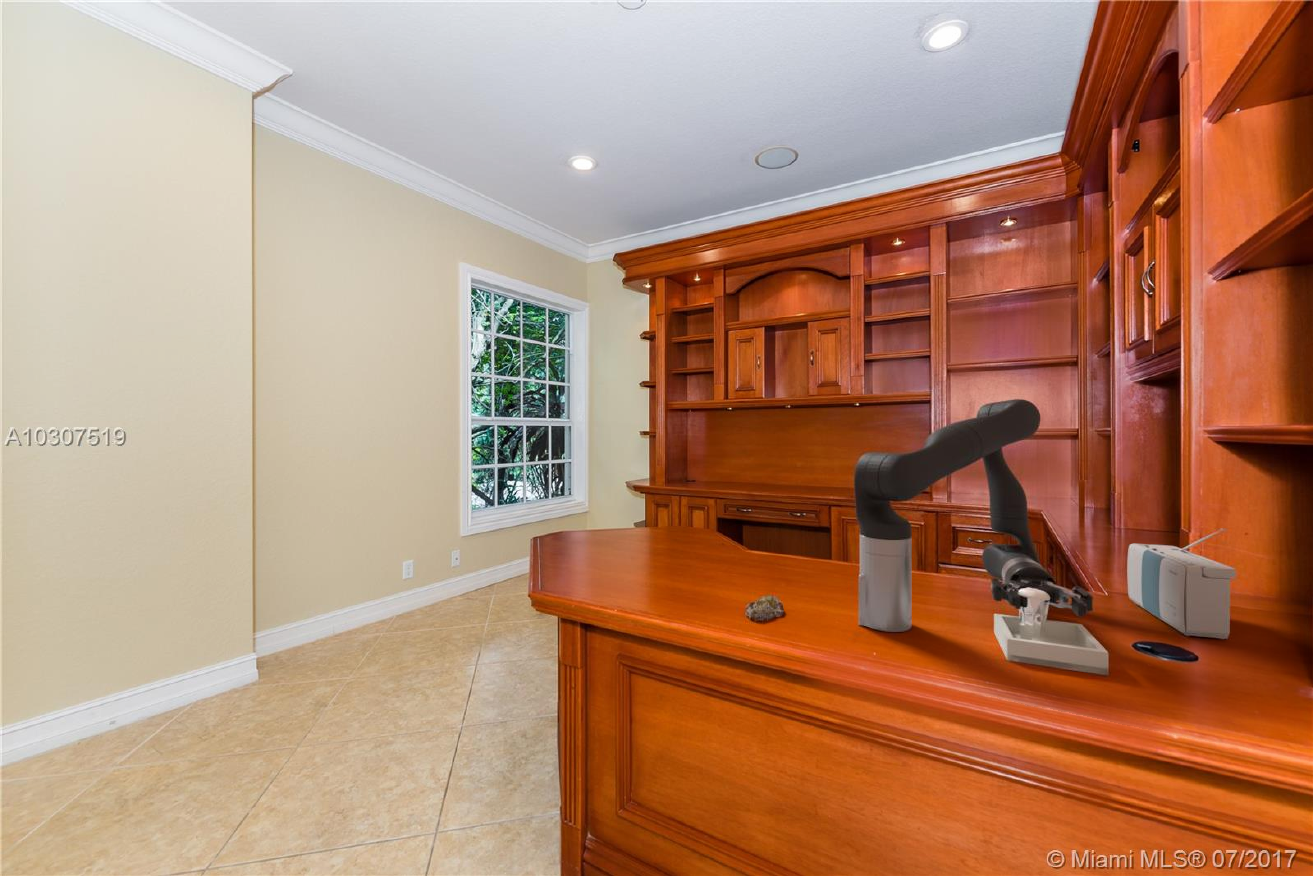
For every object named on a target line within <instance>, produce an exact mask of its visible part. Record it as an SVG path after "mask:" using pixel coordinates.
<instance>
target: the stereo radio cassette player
mask: <svg viewBox="0 0 1313 876" xmlns="http://www.w3.org/2000/svg"><path fill="white" fill-rule="evenodd" d="M1224 531H1226V529H1225V528H1224V527H1222V528H1220V530H1217V531H1215V532H1213V533H1211V534H1209V535H1207V536H1204V537H1202V538H1200V539H1198V540H1196V541H1195V542H1193V543H1191V544H1188V545H1187V546H1184V547H1183V548H1181V547H1178V546H1175V545H1167V544H1166V545H1164V544H1148V543H1147V544H1146V543H1131V544H1129V546H1128V549H1127V550H1128V551H1127V563H1126V564H1127V565H1126V566H1127V567H1126V571H1127V572H1126V575H1127V576H1126V577H1127V593H1128V594H1127V595H1128V598H1129V599H1130V600H1131V601H1133V602H1134V604H1136V605H1137V606H1140V607H1141V608H1142V609H1143V610H1144V611H1145V610H1146V611H1147V612H1149V613H1150V614H1151V615H1153V616H1154V617H1157V618H1158V619H1159V620H1161V621H1163V622H1165V623H1166V624H1168V625H1169V626H1171V627H1172V628H1174V629H1175V630H1177V631H1179V632H1180V633H1181V634H1184V635H1185V636H1186V637H1190V636H1192V637H1193V636H1194V637H1202V638H1203V637H1205V638H1215V639H1220V640H1224V639H1226V640H1227V639H1228V638H1229V636H1230V634H1231V632H1230V631H1231V629H1230V628H1231V627H1230V625H1231V624H1230V623H1231V622H1230V621H1231V580H1232V579H1236V577H1237V570H1236V568H1234V567H1232V566H1228V565H1226V564H1223V563H1221V562H1217V561H1216V560H1214V559H1213V560H1212V559H1210V558H1207V557H1205V556H1202V555H1199V554H1197V553H1193V552H1191V551H1189V550H1188V549H1190V548H1192V547H1194V546H1196V545H1199V544H1200V543H1202V542H1204V541H1206V540H1207V539H1210V538H1211V537H1213V536H1215V535H1217V534H1219V533H1220V532H1224Z"/></svg>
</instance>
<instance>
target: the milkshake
mask: <svg viewBox="0 0 1313 876" xmlns="http://www.w3.org/2000/svg"><path fill="white" fill-rule="evenodd" d="M1014 584H1015V582H1014ZM1015 586H1016V584H1015ZM1016 589H1017V591H1018V588H1017V586H1016ZM1018 594H1019V595H1020V597H1021V609H1018V617H1019V628H1020V639H1026V640H1034V641H1041V642H1043V640H1044V633H1045V626H1046V620H1048V619H1047V618H1048V612H1049V607H1050V604H1049V602H1050V596H1049V595H1048V594H1047V593H1046V592H1044V591H1041V590H1038V589H1035V588H1029V587H1028V588H1023V589H1020V590H1019V591H1018Z"/></svg>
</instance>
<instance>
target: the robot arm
mask: <svg viewBox="0 0 1313 876" xmlns="http://www.w3.org/2000/svg"><path fill="white" fill-rule="evenodd" d="M1040 424H1041V413H1040V410H1039V409H1038V407H1037V406H1036V404H1034V403H1033V402H1032V401H1030V400H1026V399H1019V398H1016V399H1015V398H1014V399H1008V400H1007V399H1006V400H1002V401H997V402H996V401H995V402H990V403H986V404H983V405H982V406H981V407H979V409H978V411H977V413H976V417H974V418H973V417H971V418H967V419H963V420H960V421H955V422H952V423H950V424H948V425H947V424H946V425H945V426H942V427H941V428H938V429H936V430H935V431H933V432H931V434H929V436H928V437H927V438H926V439H925V442H924V444H923V447H922V448H921V449H917V450H915V451H910V452H904V453H902V452H901V453H900V452H899V453H897V452H878V451H877V452H875V451H874V452H867V453H865V454H862V455H861V456H860V457H859V458H858V460H857V462H856V465H855V468H854V476H853V487H854V488H853V489H854V491H853V492H854V504H855V506H854V508H855V518H856V521H857V525H858V527H859V575H858V625H859V626H863V627H864V626H865V627H868V628H870V629H872V630H877V631H880V632H881V631H882V632H888V633H901V632H906V631H909V630H911V628H912V617H913V616H912V525H911V523H910V521H909V520H908V519H905V518H904V517H902V516H901V515H899V514H898V513H897V512H896V510H894V508H893V507H892V506H891V505H892V504H891V502H895V503H901V502H907V501H910V500H913V499H914V498H916V497H917V496H919V495H920V494H921V493H924V491H926V490H927V489H928V488H931V486H932V485H934V484H935V483H938V481H940V480H943V478H946V477H948V476H950V475H951V474H953V473H955V472H958V471H960V470H962V469H964V468H967V467H968V466H970V465H972V464H975V463H976V462H977V461H979V460H981V459H982V461H983V462H982V463H983V465H984V470H985V475H986V479H987V485H988V494H989V495H988V497H989V512H990V513H989V514H990V515H989V516H990V518H989V519H990V528H991V530H992V531H993V532H995V533H998V534H1002V535H1008V536H1011V537H1013V538H1015V540H1016V541H1017V544H1002V543H993V544H989V545H987V546H986V547H985V548H984V550H983V551H982V555H981V557H982V558H981V559H982V564H983V567H984V569H985V570H986V572H987V573H988V574H989V575H990V576H992V577H993V578H991V580H990V583H991V585H990V593H991V596H992V599H993V600H994V601H996V602H1000V601H1001V602H1002V600H1005V602H1006V603H1007V604H1008V605H1010V606H1011V607H1014V609H1015V610H1019V609H1021V597H1020V595H1019V594H1018V591H1019V590H1020V589H1023V588H1028V587H1029V588H1035V589H1038V590H1041V591H1044V592H1046V593H1047V594H1048V595H1049V596H1050V602H1049V606H1050V605H1051V606H1053V607H1055V608H1059V609H1069V610H1072V612H1073V613H1074V614H1075V615H1076V616H1078V617H1084V616H1085V615H1087V614H1088V612H1093V610H1094V607H1093V603H1094V601H1093V600H1094V596H1093V595H1092V594H1091V593H1089V591H1087V590H1085V589H1084V588H1082V587H1081V586H1079V585H1078V586H1072V587H1073V588H1072V589H1071V590H1070V589H1068V588H1067V587H1064V586H1060V585H1058V584H1057V582H1056V580H1055V578H1054V577H1053V576H1052V575H1051V574H1050V573H1049V571H1047V570H1046V569H1045V568H1044V567H1043V566H1042V565H1041V560H1040V557H1039V555H1038V552H1037V549H1036V547H1035V545H1034V542H1033V540H1032V536H1031V532H1030V528H1029V517H1028V516H1029V515H1028V513H1029V512H1028V500H1027V495H1026V492H1025V490H1024V488H1023V486H1022V484H1021V482H1019V479H1018V478H1017V477H1016V475H1015V474H1014V473H1013V471H1012V470H1011V468H1010V467H1009V465H1008V463H1007V462H1006V460H1005V457H1004V452H1003V448H1004V447H1006V446H1008V445H1011V444H1014V443H1016V442H1020V441H1024V440H1027V439H1029V438H1031V437H1033V436H1034V435H1035V434H1036V432H1037V431H1038V429H1039V428H1040V426H1041V425H1040ZM1014 582H1015V584H1016V586H1017V588H1018V591H1017V589H1016V586H1015V584H1014ZM1070 599H1071V603H1070Z"/></svg>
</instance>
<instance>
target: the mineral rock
mask: <svg viewBox="0 0 1313 876" xmlns="http://www.w3.org/2000/svg"><path fill="white" fill-rule="evenodd" d="M784 608H785V607H784V605H783V603H782V602H781V601H780V599H779V598H778V597H776V596H773V595H771V594H768V595H765V596H762V597H761V598H758V599H757V600H756V601H751V602H749V603H748V604H746V607H745V616H746V617H748V618H749V619H750V620H753V621H754V622H765V621H770V620H771V619H773V618H781V617H783V615H784V614H783V613H784Z"/></svg>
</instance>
